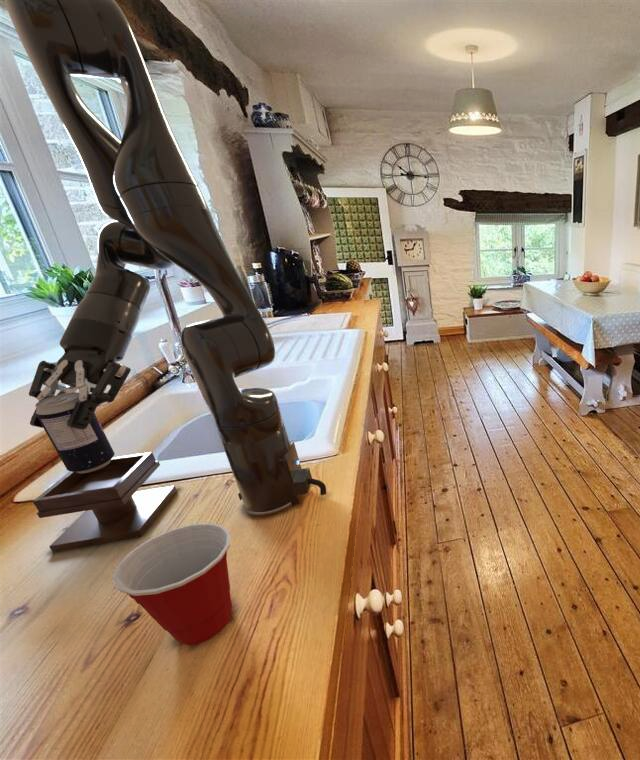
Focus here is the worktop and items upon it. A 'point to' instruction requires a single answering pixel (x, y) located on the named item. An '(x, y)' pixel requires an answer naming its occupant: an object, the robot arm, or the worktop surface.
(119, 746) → the worktop surface
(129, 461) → the cup stand
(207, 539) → the plastic cup
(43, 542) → the worktop surface
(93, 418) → the beverage can
